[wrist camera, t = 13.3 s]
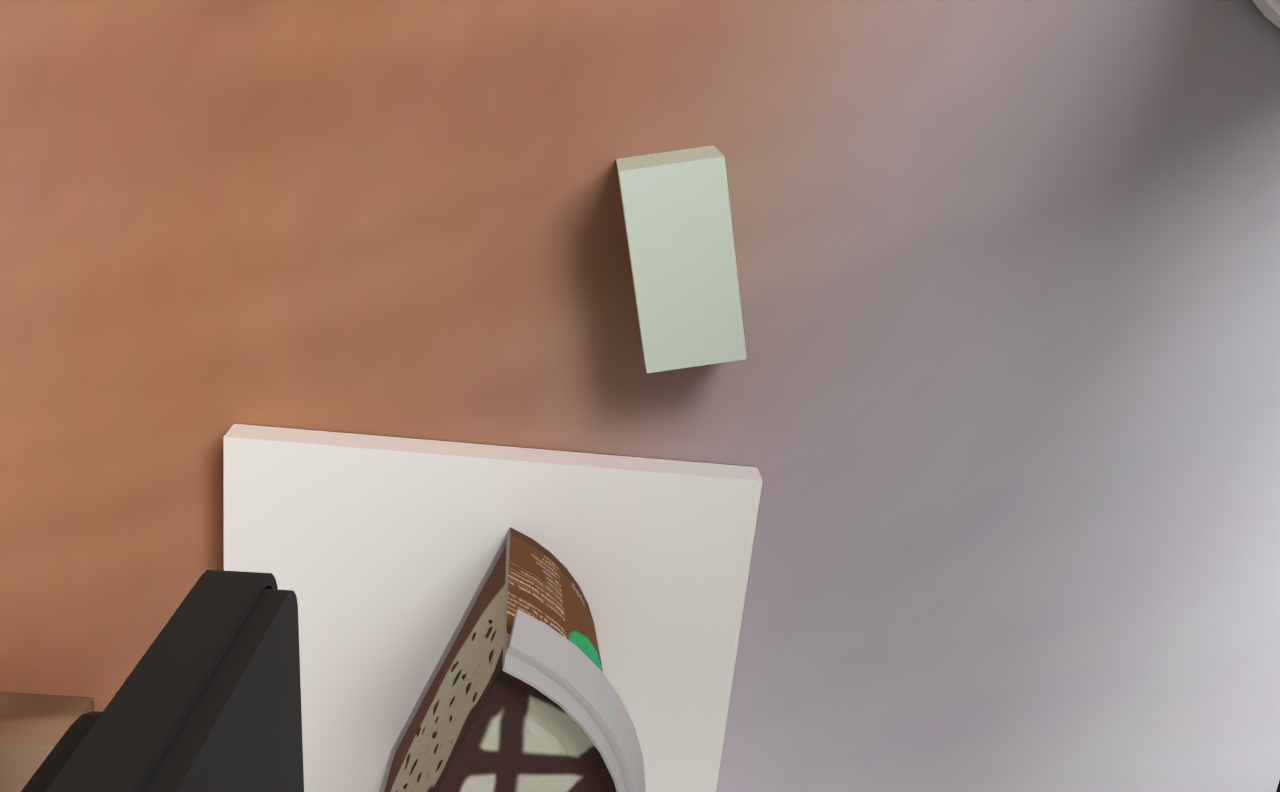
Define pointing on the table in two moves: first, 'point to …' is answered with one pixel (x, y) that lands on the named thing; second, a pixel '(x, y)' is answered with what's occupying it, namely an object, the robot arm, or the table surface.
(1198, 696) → the table surface
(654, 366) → the sage block
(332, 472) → the platter
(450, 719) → the food container
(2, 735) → the walnut block
